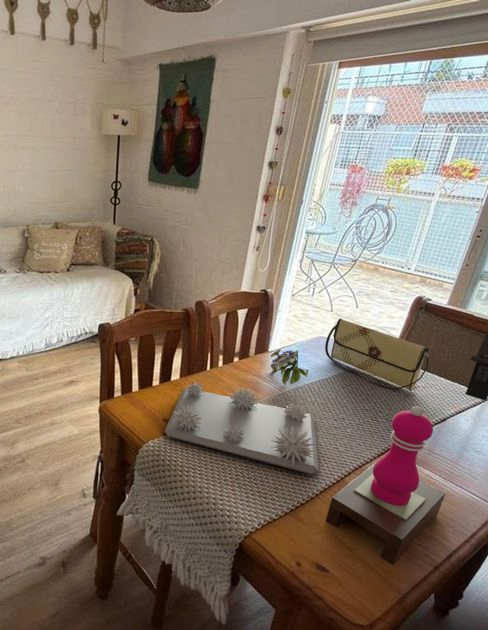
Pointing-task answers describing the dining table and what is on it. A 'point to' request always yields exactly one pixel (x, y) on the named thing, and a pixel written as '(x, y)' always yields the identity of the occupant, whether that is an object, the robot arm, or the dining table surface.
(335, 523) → the shelf
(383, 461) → the pepper mill
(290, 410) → the decorative tray
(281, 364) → the passion flower
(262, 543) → the dining table surface
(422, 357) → the clutch purse
